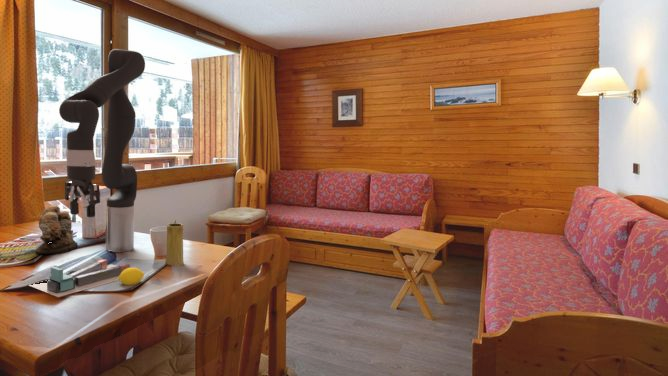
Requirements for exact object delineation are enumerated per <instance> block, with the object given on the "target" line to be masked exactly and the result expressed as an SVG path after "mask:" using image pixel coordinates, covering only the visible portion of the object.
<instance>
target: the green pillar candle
mask: <svg viewBox="0 0 668 376" xmlns="http://www.w3.org/2000/svg"><path fill="white" fill-rule="evenodd" d="M165 265H168V266H183V265H184V225H183V223H178V222H177V223H176V222H175V223H167V224H166V253H165Z"/></svg>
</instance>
